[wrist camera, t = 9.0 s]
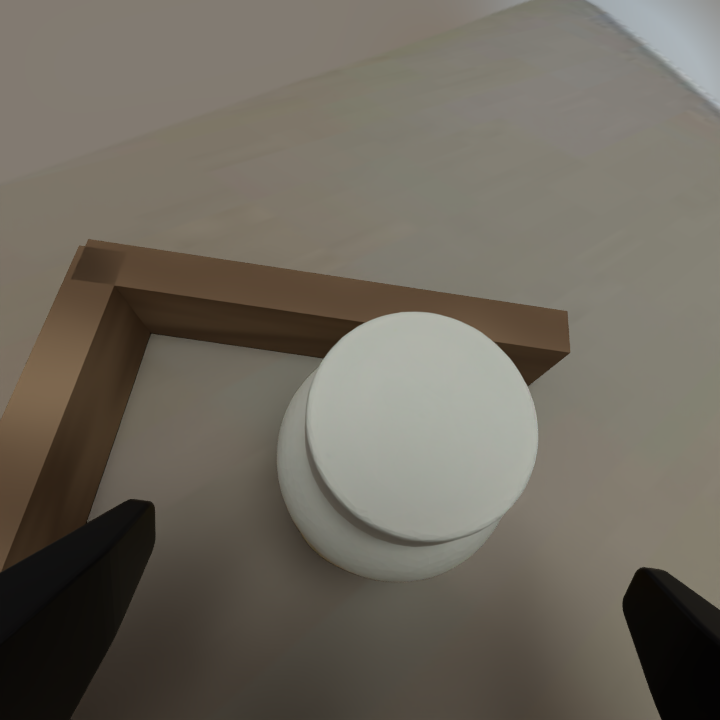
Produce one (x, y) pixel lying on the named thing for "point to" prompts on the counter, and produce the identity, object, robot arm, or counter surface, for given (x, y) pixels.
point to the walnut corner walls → (193, 321)
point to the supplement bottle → (406, 447)
